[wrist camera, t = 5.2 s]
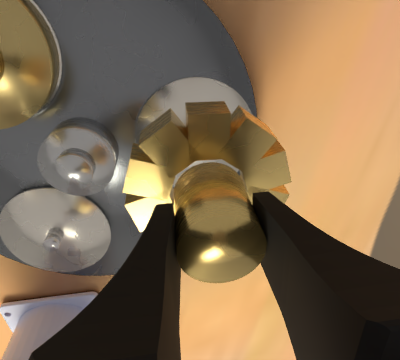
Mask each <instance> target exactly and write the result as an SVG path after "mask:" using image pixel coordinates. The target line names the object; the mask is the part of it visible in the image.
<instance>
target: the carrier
mask: <svg viewBox="0 0 400 360" xmlns="http://www.w3.org/2000/svg"><path fill="white" fill-rule="evenodd" d="M212 101H224V102H225V103H226V105H227V107H228V109H229V111H230V112H231V114H232V113H233V112H234V111H235V109H236V108H237V107H238V105H239V106H240V107H242V108H243V109H245V110H246V111H247V112H249V113H250V114H252V115H253V116H254V117H256V118H257V113H256V105H255V100H254V94H253V89H252V85H251V82H250V79H249V76H248V73H247V70H246V67H245V64H244V62H243V60H242V58H241V56H240V54H239V52H238V50H237V48H236V45H235V43H234V41H233V40H232V38H231V37H230V35H229V34H228V32H227V31H226V29H225V28H224V26H223V25H222V23H221V22H220V20H219V19H218V17H217V16H216V15H215V14H214V13H213V11H212V10H211V9H210V8H209V7H208V6H207V5H206V3H205V2H204V1H203V0H0V254H1V255H3V256H5V257H7V258H10V259H13V260H15V261H18V262H20V263H23V264H26V265H29V266H33V267H36V268H39V269H43V270H47V271H53V272H59V273H64V274H74V275H87V276H104V275H115V274H116V273H117V271H118V270H119V269H120V267H121V266H122V265H123V263H124V262H125V261H126V259H127V258H128V256H129V254H130V253H131V251H132V250H133V248H134V247H135V245H136V244H137V242H138V240H139V238H140V236H141V235H142V233H143V231H142V232H140V231H139V229H138V227H137V226H136V224H135V222H134V221H133V219H132V217H131V215H130V214H129V212H128V210H127V209H126V207H125V200H126V194H127V193H123V187H124V182H125V177H126V172H127V168H128V164H129V159H130V155H131V150H132V146H133V143H136V144H139V140H140V133H141V130H143V129H144V128H145V127H147V126H148V125H149V124H150V123H152V122H153V121H154V120H156V119H157V118H158V117H159V116H161V115H162V114H163V113H165V112H166V111H167V110H168V109H170V108H171V109H172V110H173V112H174V113H175V114H176V115H177V116H178V118H179V119H180V120H181V121H182V122H183V124H184V125H185V126H186V110H185V103H187V102H212ZM207 162H216V163H221V164H225V165H227V166H229V167H231V168H232V169H234V170H235V171H236V172H237V173H238V175H239V176H240V171H239V169H237V168H235V167H234V166H232V165H230V164H229V163H227V162H226V161H224V160H222V159H219V160H201V161H195V162H194V163H192V164H191V165H189V166H188V167H187V168H185V169H184V170H182V171H181V172H180V173H178V174H177V175H176V176H175V179H174V182H173V185H172V186H173V189H174V187H175V184H176V182H177V180H178V179H179V177H180V176H181V175H182V174H183V173H184V172H185V171H186V170H188V169H189V168H191V167H193V166H195V165H198V164H201V163H207Z"/></svg>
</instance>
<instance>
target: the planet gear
mask: <svg viewBox="0 0 400 360" xmlns="http://www.w3.org/2000/svg"><path fill="white" fill-rule="evenodd" d="M185 110H186V126H185V125H184V124H183V122H182V121H181V120H180V119H179V118H178V116H177V115H176V114H175V113H174V112H173V110H172V109H171V108H170V109H168V110H167V111H166V112H165V113H163V114H162V115H161V116H159V117H158V118H157V119H156V120H154V121H153V122H152V123H150V124H149V125H148V126H147V127H145V128H144V129H143V130H141V133H140V140H139V144H136V143H133V146H132V150H131V155H130V159H129V164H128V168H127V172H126V177H125V182H124V187H123V193H127V194H126V200H125V207H126V209H127V210H128V212H129V214H130V215H131V217H132V219H133V221H134V222H135V224H136V226H137V227H138V229H139V231H140V232H142V231H144V229H145V227H146V225H147V223H148V221H149V219H150V217H151V214H152V212H153V209H154V207H155V206H156V205H157V204H165V203H173V207H174V214H175V228H176V251H177V260H178V263H179V265H180V267H181V268H182V270H183V271H184V272H185V273H186V274H187V275H189V276H190V277H192V278H194V279H196V280H199V281H202V282H207V283H224V282H230V281H233V280H237V279H239V278H241V277H243V276H245V275H247V274H249V273H250V272H252V271H253V270H254V269H255V268H256V267H257V266H258V265H259V264H260V262H261V261H262V259H263V258H264V255H265V253H266V248H267V242H266V237H265V234H264V232H263V230H262V227H261V225H260V223H259V220H258V218H257V215H256V213H255V211H254V208H253V206H252V198H253V193H258V192H266V191H269V192H270V193H271V194H273V195H274V196H275V197H276V198H278V199H279V200H280V201H281V202H283V203H284V204H285V202H286V200H287V198H288V196H289V193H288V191H287V190H286V188H285V186H284V184H287V183H290V182H291V177H290V172H289V167H288V162H287V158H286V153H285V150H284V149H283V147H282V146H281V145H280V143H279V142H278V141H277V138H276V137H275V135H274V134H273V133H272V131H271V130H270V129H269V127H268V126H267V125H266V124H264V123H263V122H262V121H260V120H259V119H257V118H256V117H254V116H253V115H252V114H250V113H249V112H247V111H246V110H245V109H243V108H242V107H240V106H239V105H238V107H237V108H236V109H235V111H234V112H233V113H232V114H231V112H230V111H229V109H228V107H227V105H226V103H225V102H224V101H212V102H187V103H185ZM219 159H222V160H224V161H226V162H227V163H229V164H230V165H232V166H234V167H235V168H237V169H239V171H240V176H239V175H238V173H237V172H236V171H235V170H234V169H232V168H231V167H229V166H227V165H225V164H221V163H216V162H207V163H201V164H198V165H195V166H193V167H191V168H189V169H188V170H186V171H185V172H184V173H183V174H182V175H181V176H180V177H179V179H178V180H177V182H176V184H175V187H174V189H173V186H172V185H173V182H174V179H175V176H176V175H177V174H178V173H180V172H181V171H182V170H184V169H185V168H187V167H188V166H189V165H191V164H192V163H194V162H195V161H201V160H219Z"/></svg>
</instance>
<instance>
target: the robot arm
mask: <svg viewBox="0 0 400 360" xmlns="http://www.w3.org/2000/svg"><path fill="white" fill-rule="evenodd" d="M252 206H253V208H254V211H255V213H256V215H257V218H258V220H259V223H260V225H261V227H262V230H263V232H264V234H265V237H266V242H267V248H266V253H265V255H264V258H263V259H262V261H261V262H260V263H261V265H262V267H263V270H264V272H265V275H266V277H267V279H268V282H269V284H270V286H271V289H272V291H273V293H274V296H275V298H276V300H277V303H278V305H279V307H280V310H281V312H282V315H283V318H284V321H285V324H286V327H287V330H288V333H289V336H290V340H291V343H292V346H293V349H294V353H295V356H296V360H400V269H398V268H395V267H393V266H390V265H388V264H385V263H383V262H381V261H378V260H376V259H374V258H372V257H370V256H367V255H365V254H363V253H361V252H359V251H357V250H355V249H353V248H351V247H349V246H347V245H345V244H344V243H342V242H340V241H338V240H336V239H334V238H333V237H331V236H329V235H328V234H326V233H325V232H323V231H322V230H320V229H318V228H317V227H315V226H314V225H312V224H311V223H309V222H308V221H307V220H305V219H304V218H302V217H301V216H300V215H298V214H297V213H296V212H294V211H293V210H292V209H290V208H289V207H288V206H286V205H285V204H284V203H283V202H281V201H280V200H279V199H278V198H276V197H275V196H274V195H273V194H271V193H270V192H269V191H266V192H258V193H253V198H252ZM180 278H181V267H180V265H179V263H178V260H177V251H176V228H175V214H174V207H173V203H165V204H157V205H156V206H155V207H154V209H153V212H152V214H151V217H150V219H149V221H148V223H147V225H146V227H145V229H144V231H143V233H142V235H141V236H140V238H139V240H138V242H137V244H136V245H135V247H134V248H133V250H132V251H131V253H130V254H129V256H128V258H127V259H126V261H125V262H124V263H123V265H122V266H121V267H120V269H119V270H118V271H117V273H116V274H115V275H114V276H113V278H112V279H111V280H110V281H109V282H108V284H107V285H106V286H105V287H104V288H103V289H102V291H101V292H100V293H99V294H98V293H96V292H84V293H76V294H69V295H61V296H53V297H46V298H38V299H30V300H23V301H15V302H7V303H3V304H1V306H0V313H1V314H2V316H3V318H4V319H5V321H6V323H7V324H8V326H9V327H10V329H11V331H12V332H13V334H12V337H11V339H10V341H9V343H8V346H7V348H6V350H5V352H4V355H3V357H2V359H1V360H181V353H180V337H179V312H180Z"/></svg>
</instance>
